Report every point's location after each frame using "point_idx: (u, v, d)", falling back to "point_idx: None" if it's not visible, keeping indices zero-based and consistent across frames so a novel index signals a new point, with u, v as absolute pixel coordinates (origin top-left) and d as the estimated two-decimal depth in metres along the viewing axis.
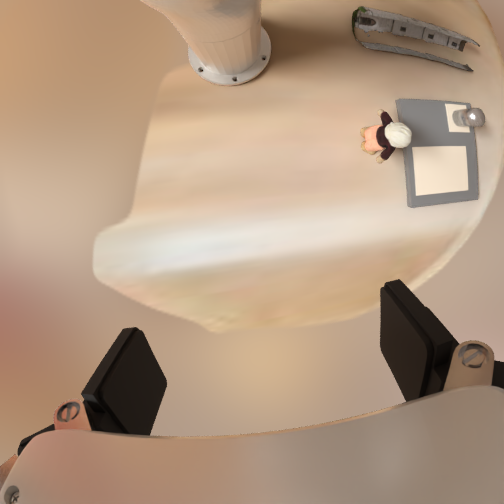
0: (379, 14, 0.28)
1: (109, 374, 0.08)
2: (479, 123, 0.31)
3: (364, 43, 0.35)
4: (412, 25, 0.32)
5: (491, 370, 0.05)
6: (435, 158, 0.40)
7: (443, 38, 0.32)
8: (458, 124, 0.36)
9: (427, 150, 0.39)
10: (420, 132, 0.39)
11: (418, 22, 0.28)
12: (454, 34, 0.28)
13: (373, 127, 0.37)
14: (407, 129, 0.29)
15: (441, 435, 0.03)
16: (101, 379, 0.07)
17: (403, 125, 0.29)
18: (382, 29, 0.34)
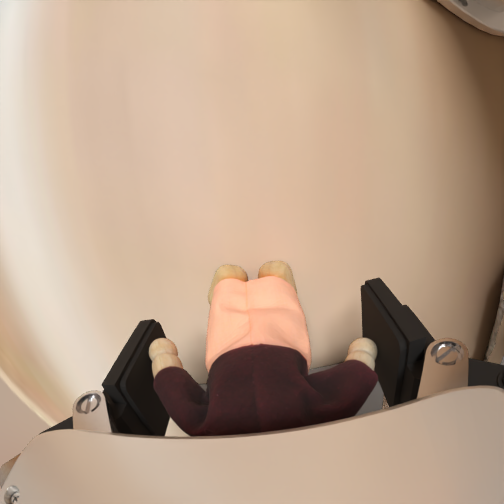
0: None
1: (130, 365, 0.08)
2: None
3: None
4: None
5: (467, 366, 0.05)
6: None
7: None
8: None
9: None
10: None
11: None
12: None
13: (296, 312, 0.11)
14: None
15: (441, 435, 0.03)
16: (123, 369, 0.08)
17: None
18: None
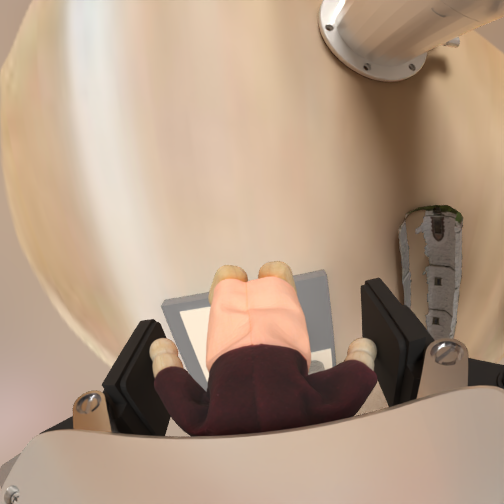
0: (458, 243, 0.23)
1: (130, 365, 0.08)
2: None
3: (404, 226, 0.29)
4: (446, 294, 0.30)
5: (466, 366, 0.05)
6: None
7: (436, 337, 0.33)
8: None
9: None
10: None
11: (456, 303, 0.26)
12: None
13: (296, 312, 0.11)
14: None
15: (441, 435, 0.03)
16: (123, 369, 0.08)
17: None
18: (430, 251, 0.30)
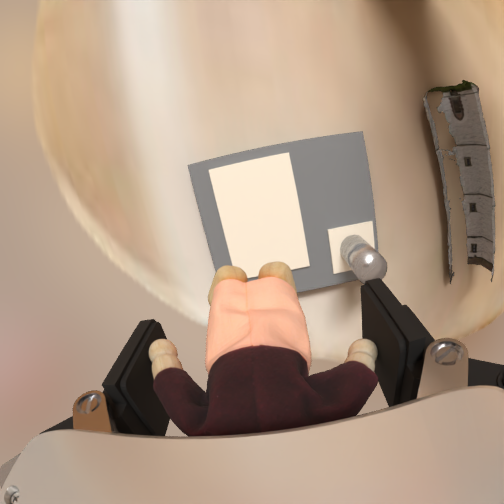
0: (479, 103, 0.20)
1: (130, 364, 0.08)
2: (361, 271, 0.25)
3: (426, 102, 0.26)
4: (478, 174, 0.27)
5: (466, 366, 0.05)
6: (278, 201, 0.29)
7: (476, 228, 0.30)
8: (344, 244, 0.29)
9: (288, 182, 0.28)
10: (316, 168, 0.28)
11: (491, 169, 0.23)
12: (494, 234, 0.25)
13: (296, 313, 0.11)
14: None
15: (441, 435, 0.03)
16: (123, 369, 0.08)
17: None
18: (454, 130, 0.27)
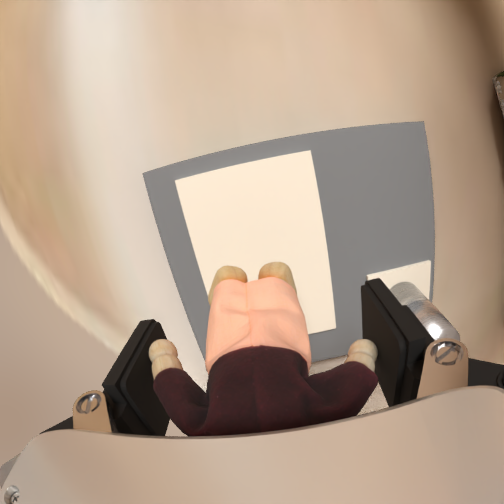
0: None
1: (130, 365, 0.08)
2: None
3: (496, 92, 0.14)
4: None
5: (466, 366, 0.05)
6: (291, 232, 0.17)
7: None
8: None
9: (309, 201, 0.17)
10: (354, 178, 0.16)
11: None
12: None
13: (296, 313, 0.11)
14: None
15: (441, 435, 0.03)
16: (123, 369, 0.08)
17: None
18: None
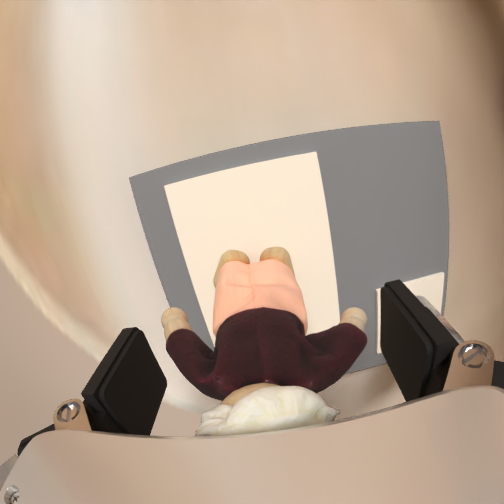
0: None
1: (109, 374, 0.08)
2: None
3: None
4: None
5: (491, 370, 0.05)
6: (295, 243, 0.16)
7: None
8: None
9: (314, 209, 0.15)
10: (364, 183, 0.15)
11: None
12: None
13: (293, 288, 0.12)
14: None
15: (441, 435, 0.03)
16: (102, 379, 0.07)
17: None
18: None
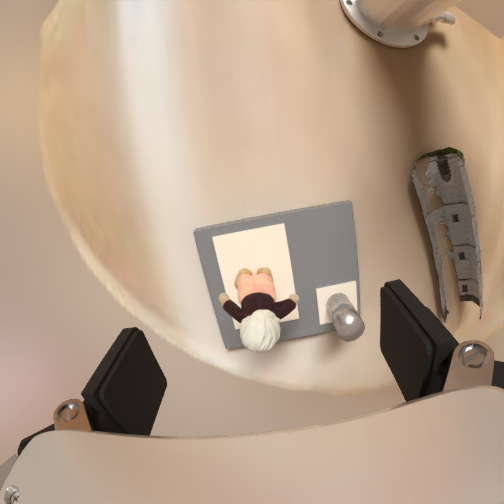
0: (464, 175, 0.25)
1: (109, 374, 0.08)
2: (342, 331, 0.29)
3: (415, 173, 0.31)
4: (465, 228, 0.32)
5: (491, 370, 0.05)
6: (273, 265, 0.33)
7: (466, 272, 0.34)
8: (329, 302, 0.34)
9: (282, 250, 0.33)
10: (307, 237, 0.33)
11: (476, 231, 0.27)
12: (480, 282, 0.30)
13: (271, 286, 0.30)
14: (270, 345, 0.22)
15: (441, 435, 0.03)
16: (102, 379, 0.07)
17: (276, 339, 0.23)
18: (442, 192, 0.32)
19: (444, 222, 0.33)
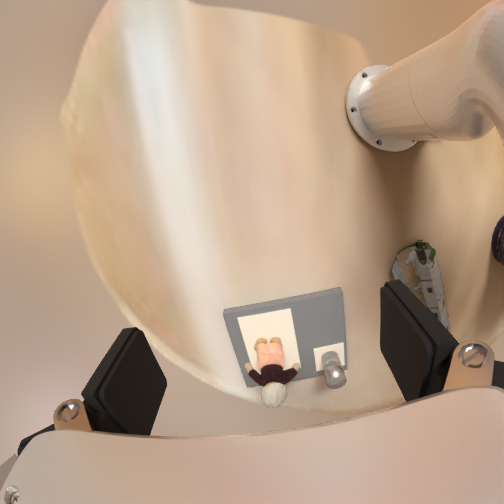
0: (433, 273, 0.35)
1: (109, 374, 0.08)
2: (330, 383, 0.40)
3: (396, 263, 0.41)
4: None
5: (492, 370, 0.05)
6: (282, 336, 0.44)
7: None
8: (323, 358, 0.45)
9: (289, 326, 0.43)
10: (308, 316, 0.43)
11: (442, 307, 0.37)
12: None
13: (280, 354, 0.41)
14: (280, 403, 0.33)
15: (441, 435, 0.03)
16: (102, 379, 0.07)
17: (283, 399, 0.34)
18: (419, 272, 0.42)
19: None
